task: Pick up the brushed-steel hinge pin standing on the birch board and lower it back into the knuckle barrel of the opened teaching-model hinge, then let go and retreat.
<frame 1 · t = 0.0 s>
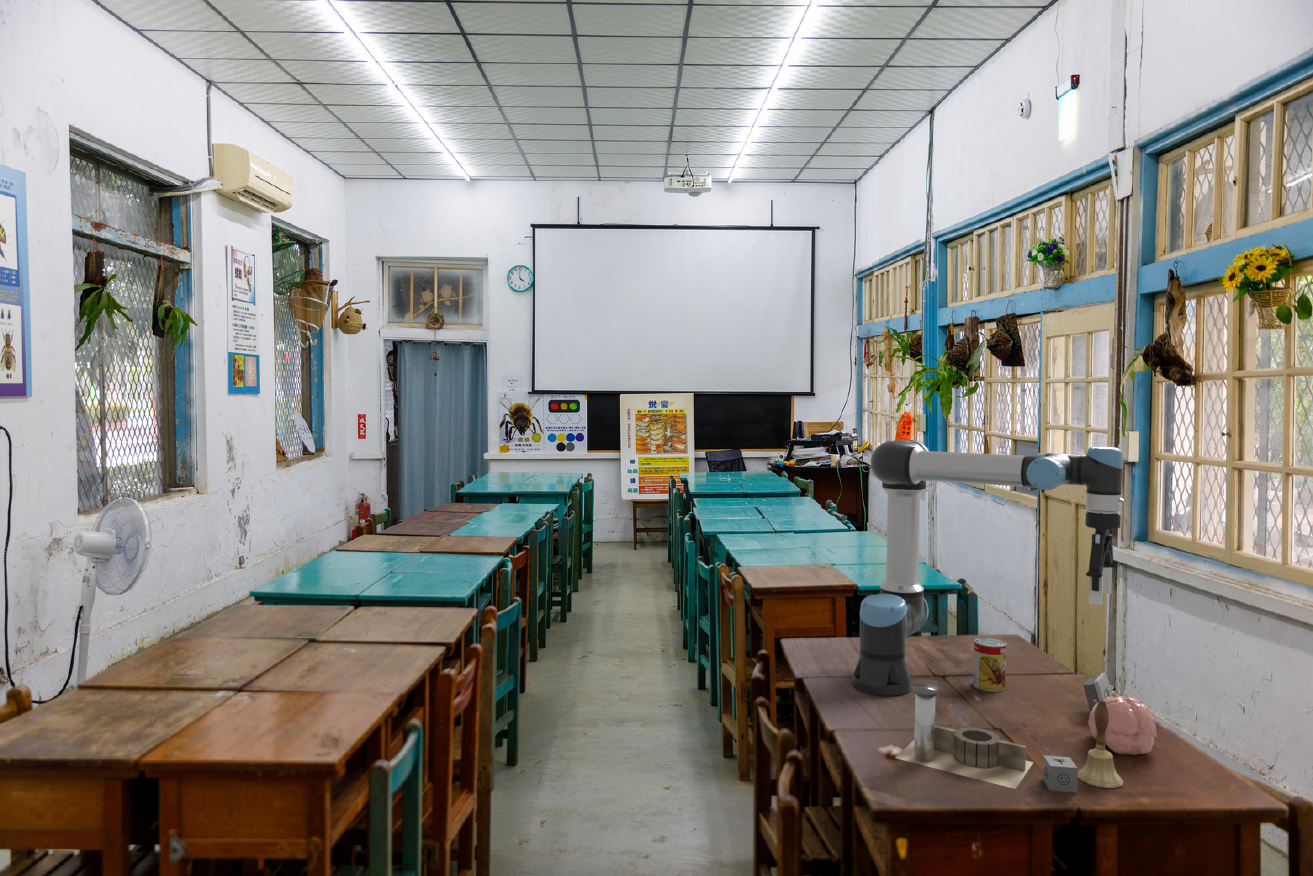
hand: (1100, 598, 209), 28 cm above the table, fingers open, 13 cm apart
hand bell: (1099, 780, 174), on the table
dice cube: (1059, 787, 171), on the table
hinge board: (963, 765, 180), on the table
brain: (1120, 747, 190), on the table
canned food: (989, 687, 229), on the table
pin: (923, 758, 181), point 1 cm above the table, touching hinge board
electrical switch: (1099, 714, 210), on the table
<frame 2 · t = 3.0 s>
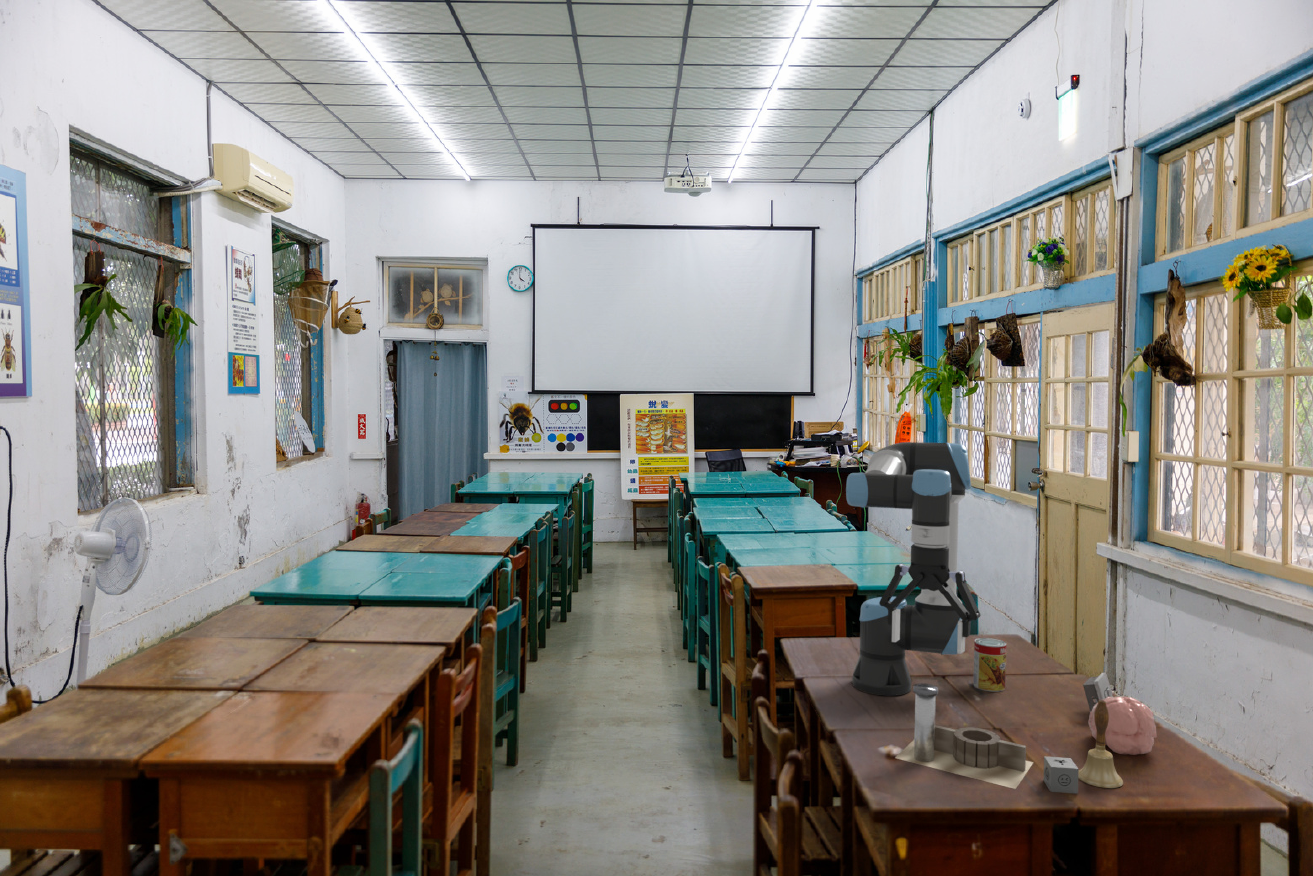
hand: (927, 646, 179), 25 cm above the table, fingers open, 13 cm apart
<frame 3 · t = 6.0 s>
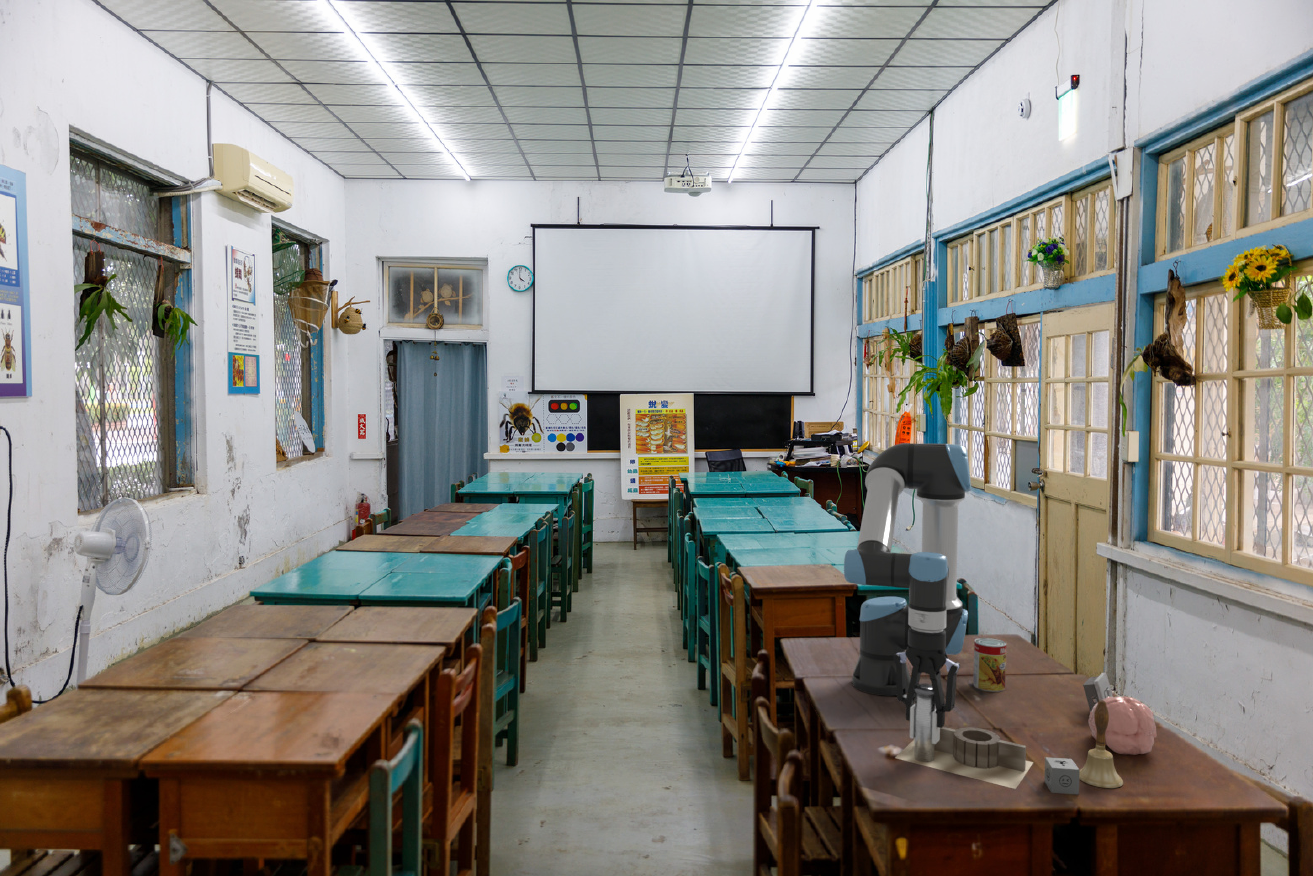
hand: (924, 738, 180), 5 cm above the table, fingers closed on pin, 4 cm apart
pin: (924, 758, 181), point 1 cm above the table, touching gripper, hinge board
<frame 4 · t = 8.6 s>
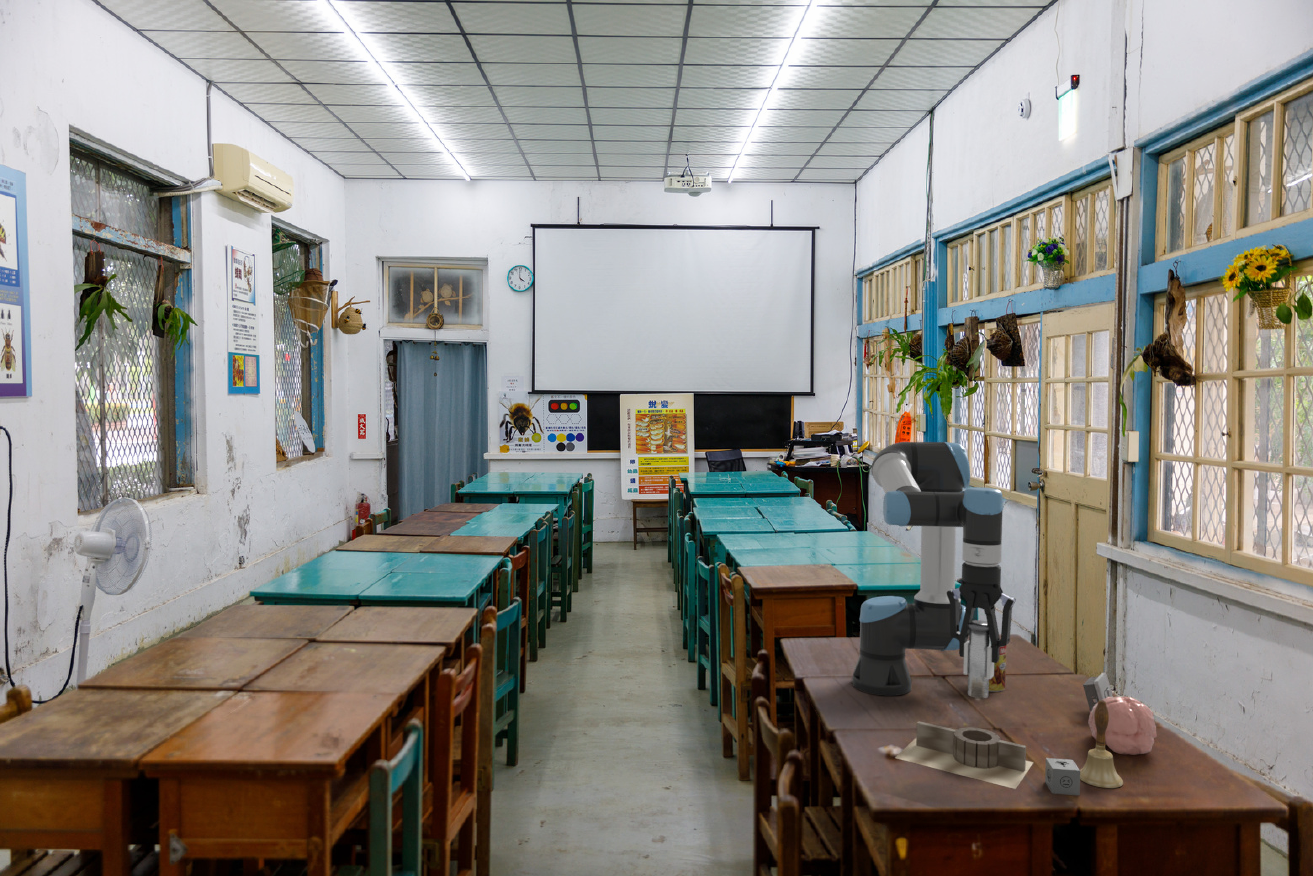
hand: (978, 674, 179), 19 cm above the table, fingers closed on pin, 4 cm apart
pin: (978, 694, 179), point 15 cm above the table, touching gripper
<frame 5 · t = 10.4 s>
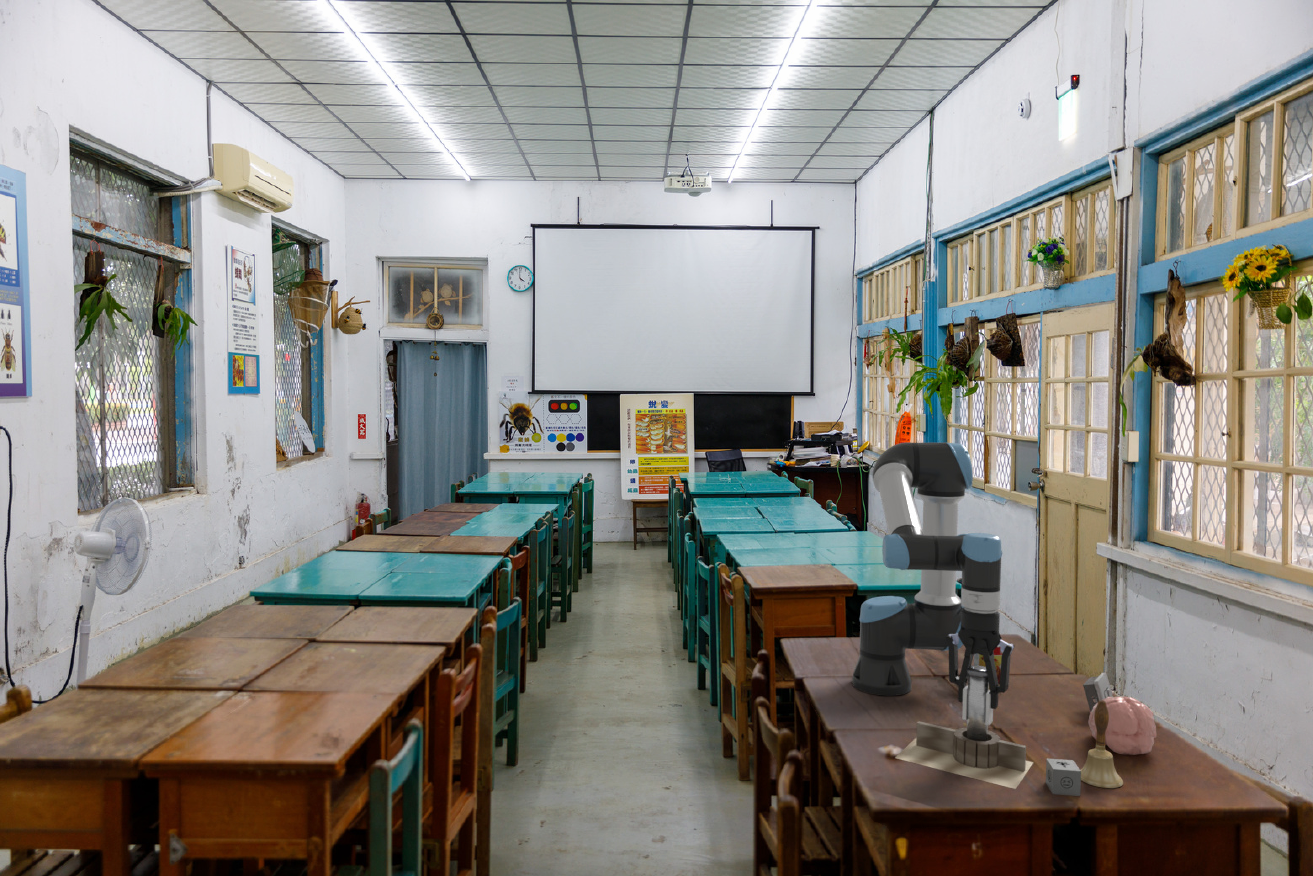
hand: (977, 720, 180), 10 cm above the table, fingers closed on pin, 4 cm apart
pin: (976, 740, 180), point 5 cm above the table, touching gripper
when the fingers open (8 cm above the table, at t = 11.6 s): pin drops 2 cm, resting on hinge board.
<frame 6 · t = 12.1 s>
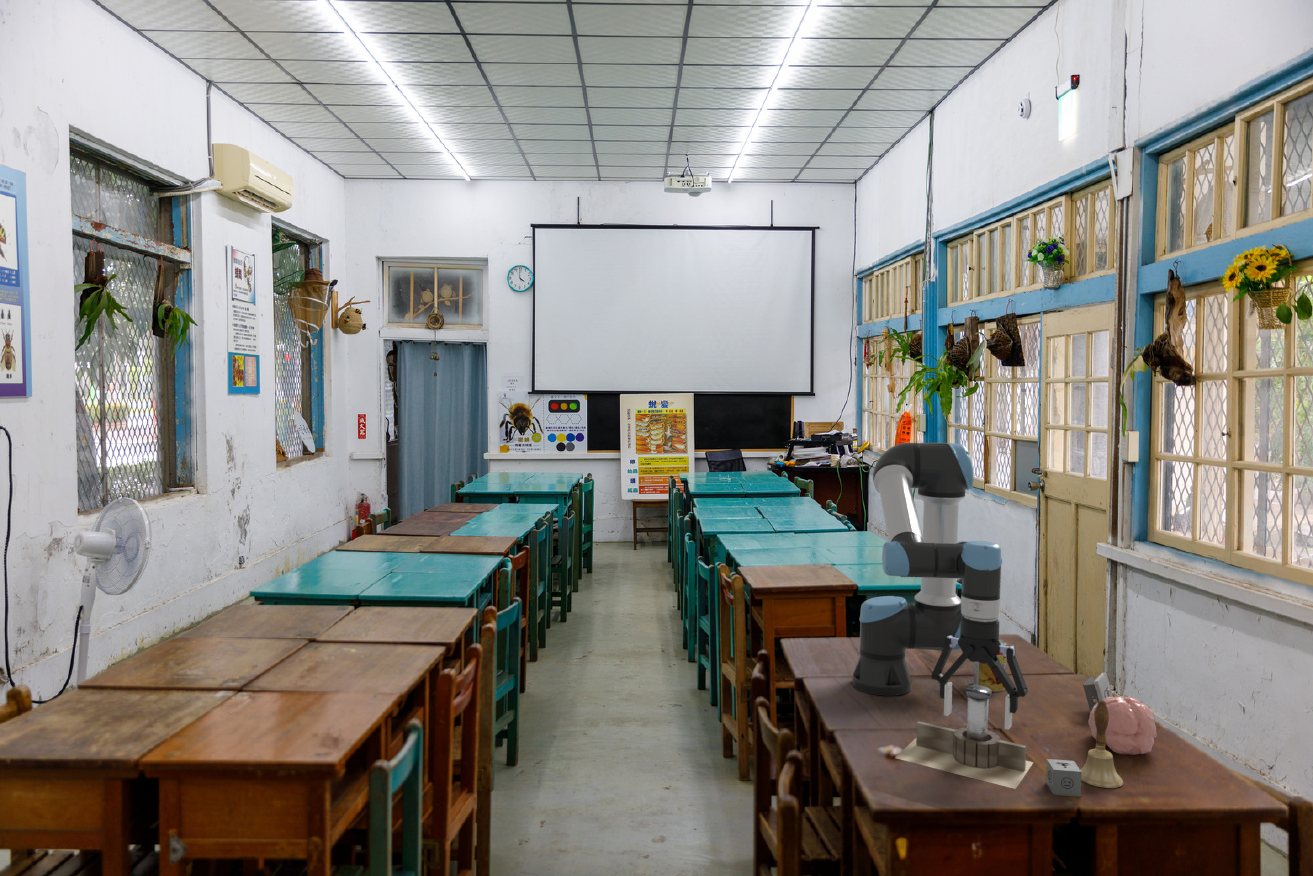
hand: (977, 720, 180), 9 cm above the table, fingers open, 11 cm apart
pin: (976, 758, 180), point 1 cm above the table, tilted 5°, touching hinge board
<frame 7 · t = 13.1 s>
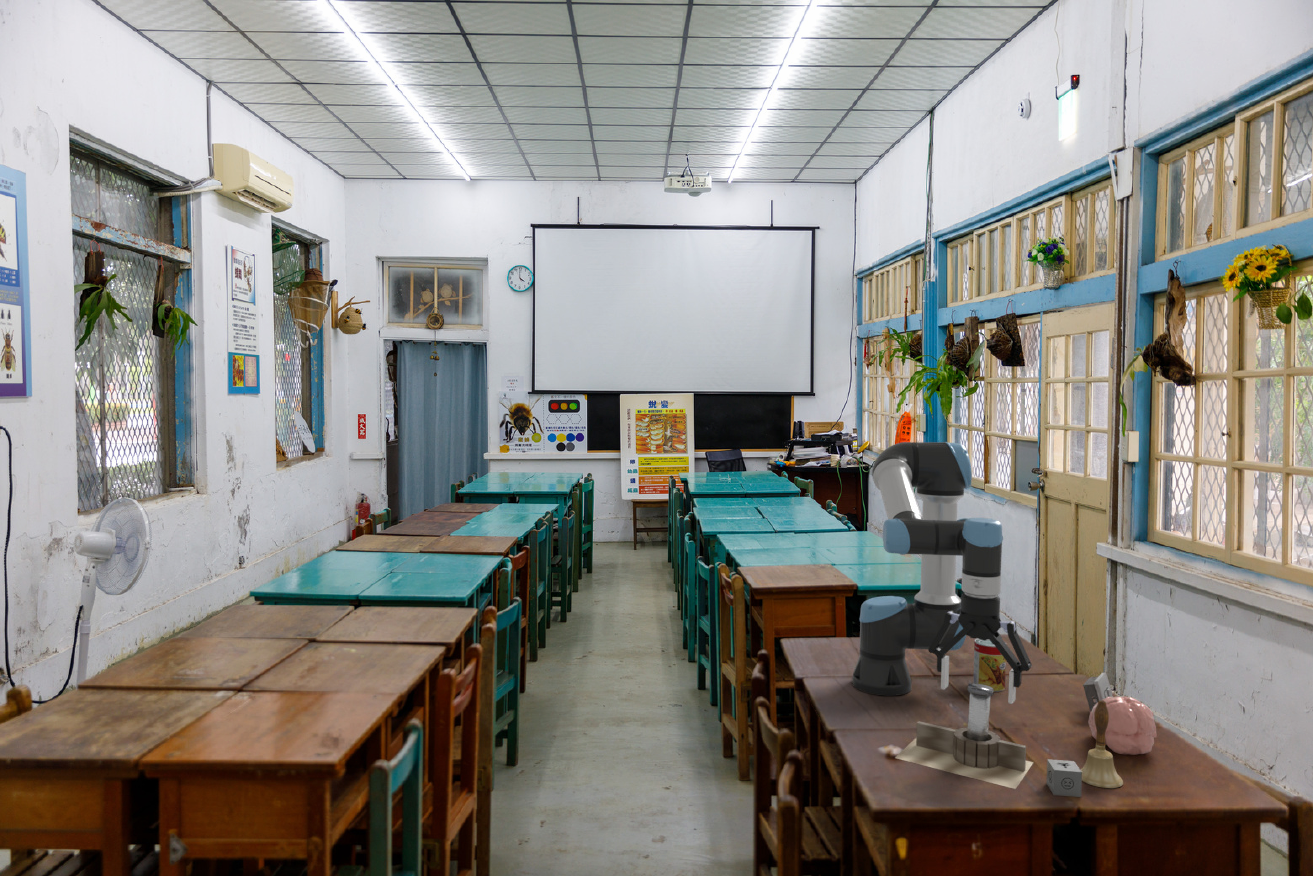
hand: (977, 694, 180), 15 cm above the table, fingers open, 13 cm apart
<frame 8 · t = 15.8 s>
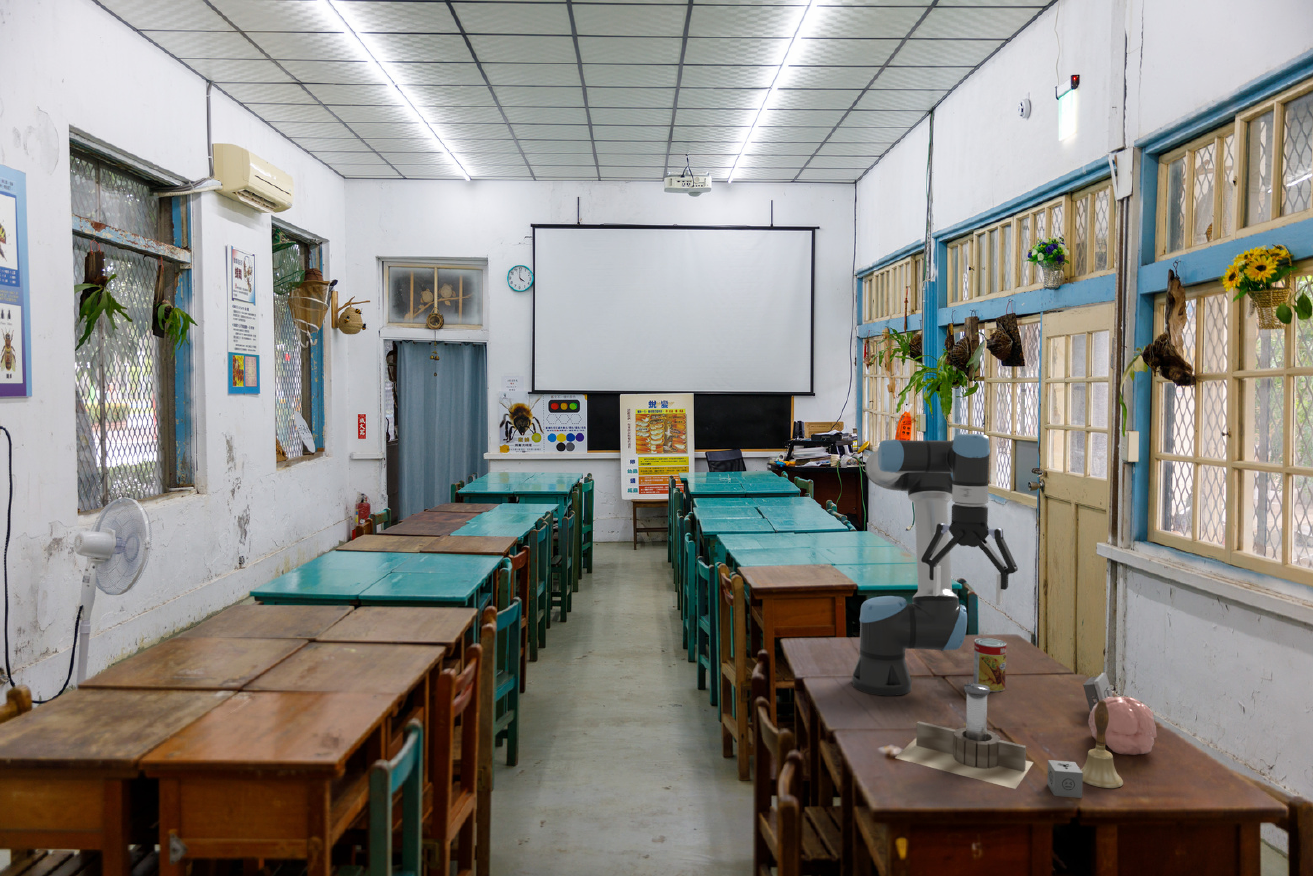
hand: (967, 599, 192), 32 cm above the table, fingers open, 13 cm apart
at the end: pin 0.1 cm from the target spot on the hinge board, point 1.3 cm above the hinge board's base; pin tilted 2°; the gripper is holding nothing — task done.
